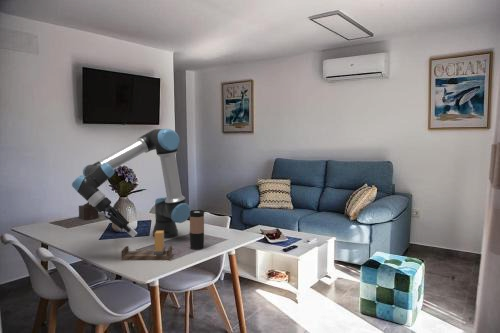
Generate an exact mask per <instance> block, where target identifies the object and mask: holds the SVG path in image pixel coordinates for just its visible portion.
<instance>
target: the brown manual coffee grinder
mask: <svg viewBox="0 0 500 333" xmlns="http://www.w3.org/2000/svg"><path fill="white" fill-rule="evenodd" d="M99 218H100V217H99V212H98V211H97V210H96V209H95V206H94V207H93V206H92V205H91V204H89V202H88V201H87V202H86V203H84V204H83V205H82V204H81V205H78V219H79V220H83V221H89V220H94V219H95V220H96V219H99Z"/></svg>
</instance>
